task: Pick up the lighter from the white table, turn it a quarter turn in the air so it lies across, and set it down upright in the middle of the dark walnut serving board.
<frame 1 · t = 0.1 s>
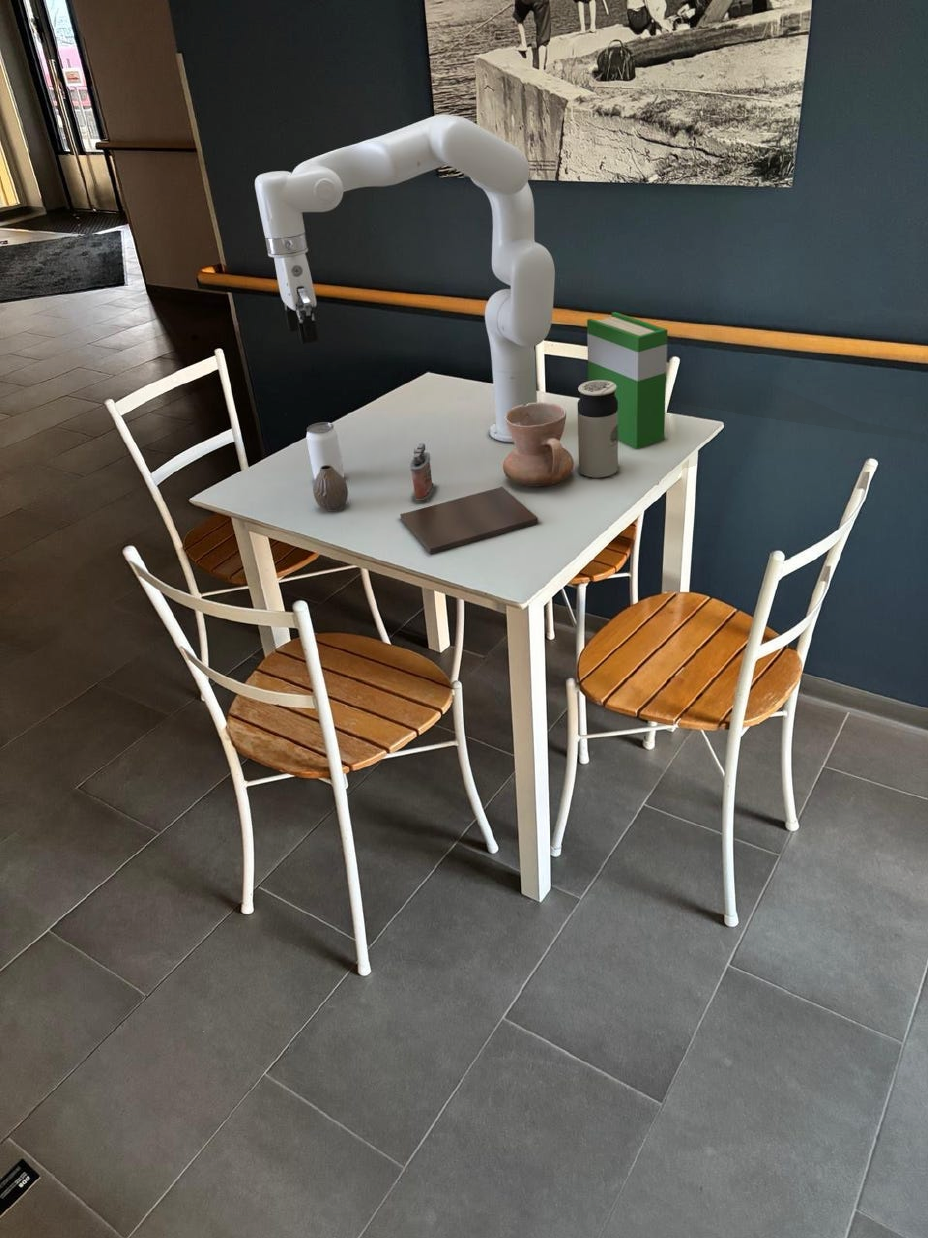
hand: (303, 335, 186), 31 cm above the table, tool pointing down, fingers open, 9 cm apart
walnut board: (468, 521, 181), on the table
ceramic jug: (539, 480, 194), on the table
hardback book: (625, 432, 210), on the table
vase: (333, 507, 192), on the table
travel mug: (598, 471, 195), on the table
can: (329, 480, 203), on the table
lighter: (424, 494, 193), on the table
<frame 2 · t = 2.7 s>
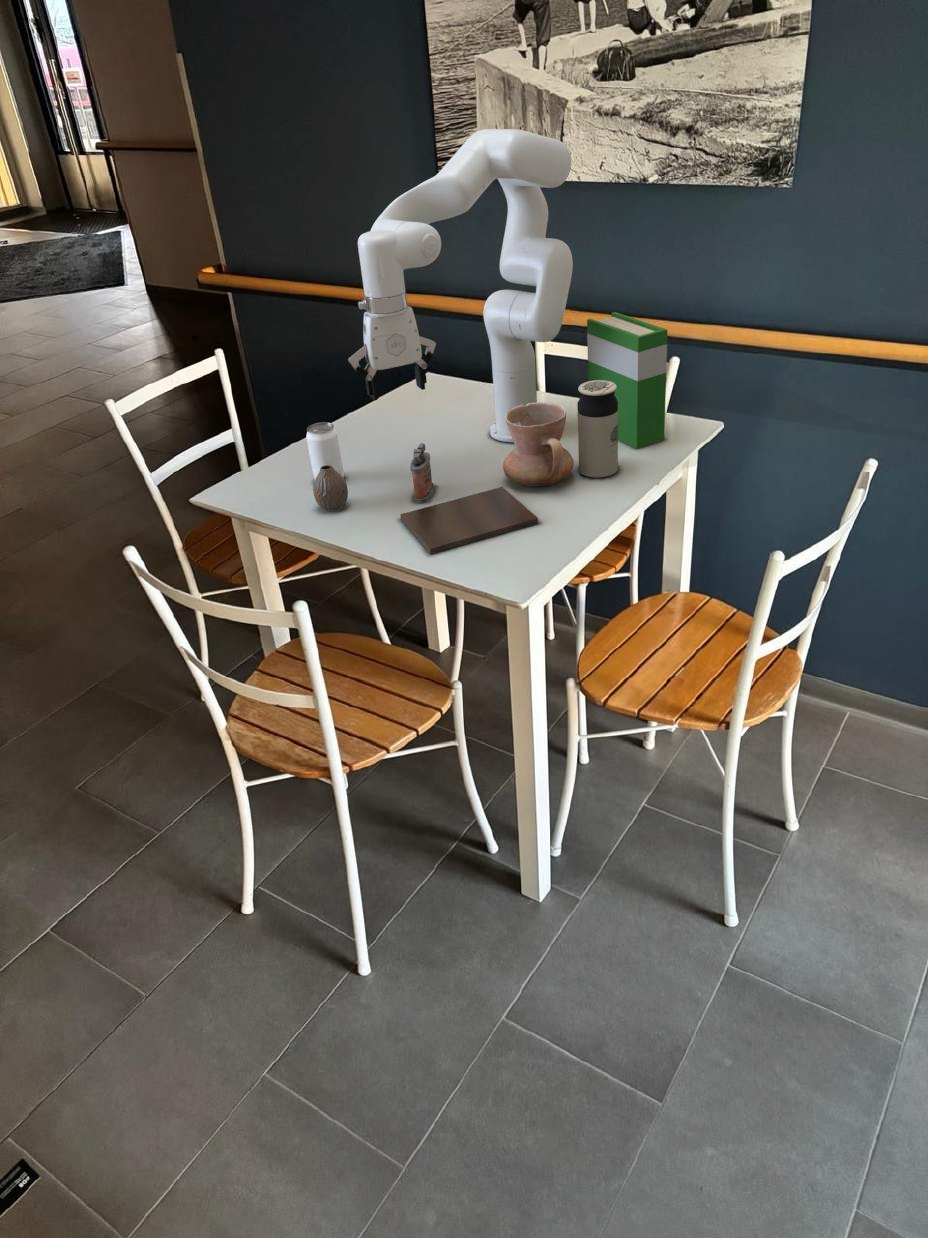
hand: (397, 392, 182), 21 cm above the table, tool pointing down, fingers open, 9 cm apart
nothing on the table moved.
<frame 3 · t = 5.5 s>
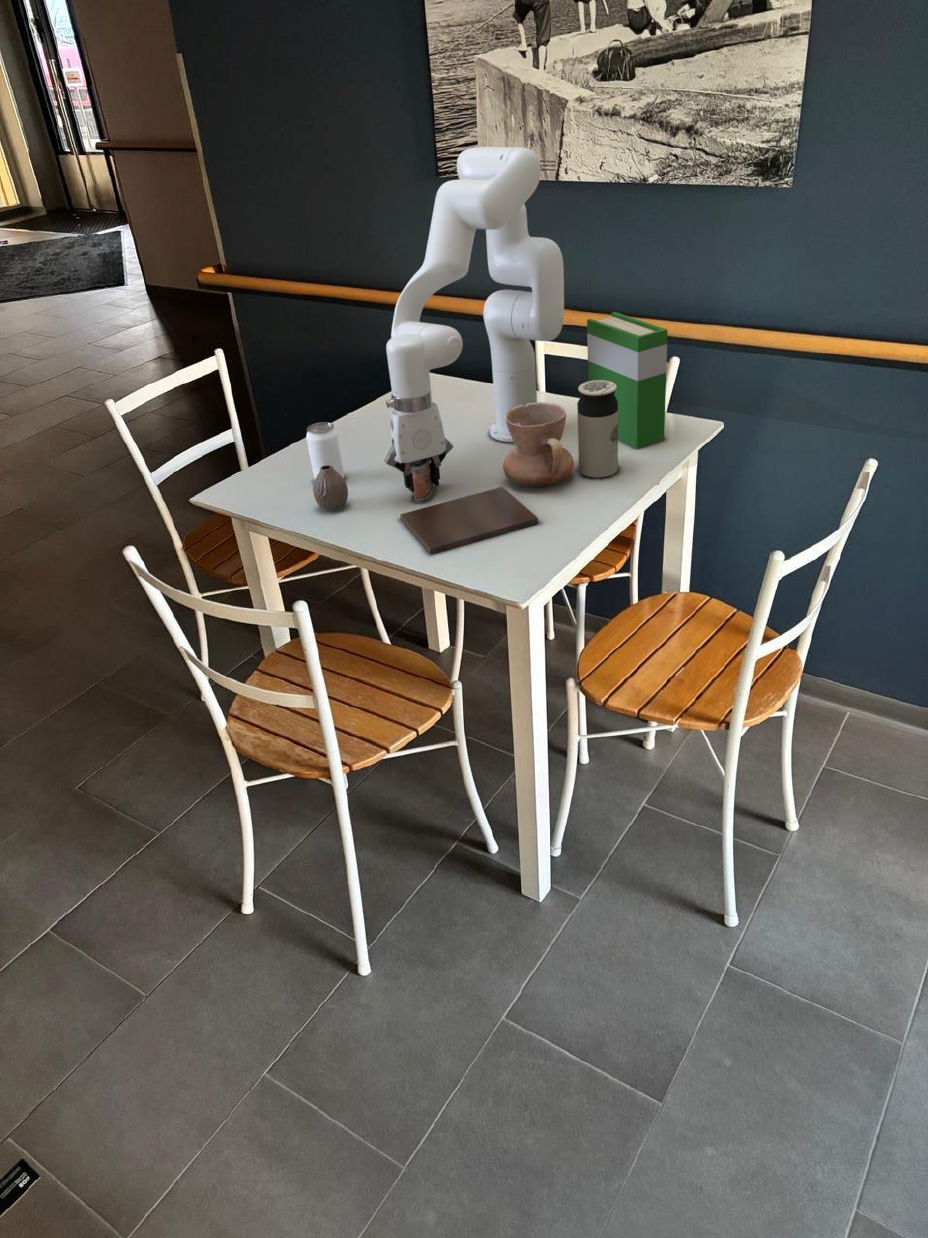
hand: (423, 485, 192), 2 cm above the table, tool pointing down, fingers closed on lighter, 4 cm apart
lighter: (424, 494, 193), on the table, touching gripper
everything else where it was.
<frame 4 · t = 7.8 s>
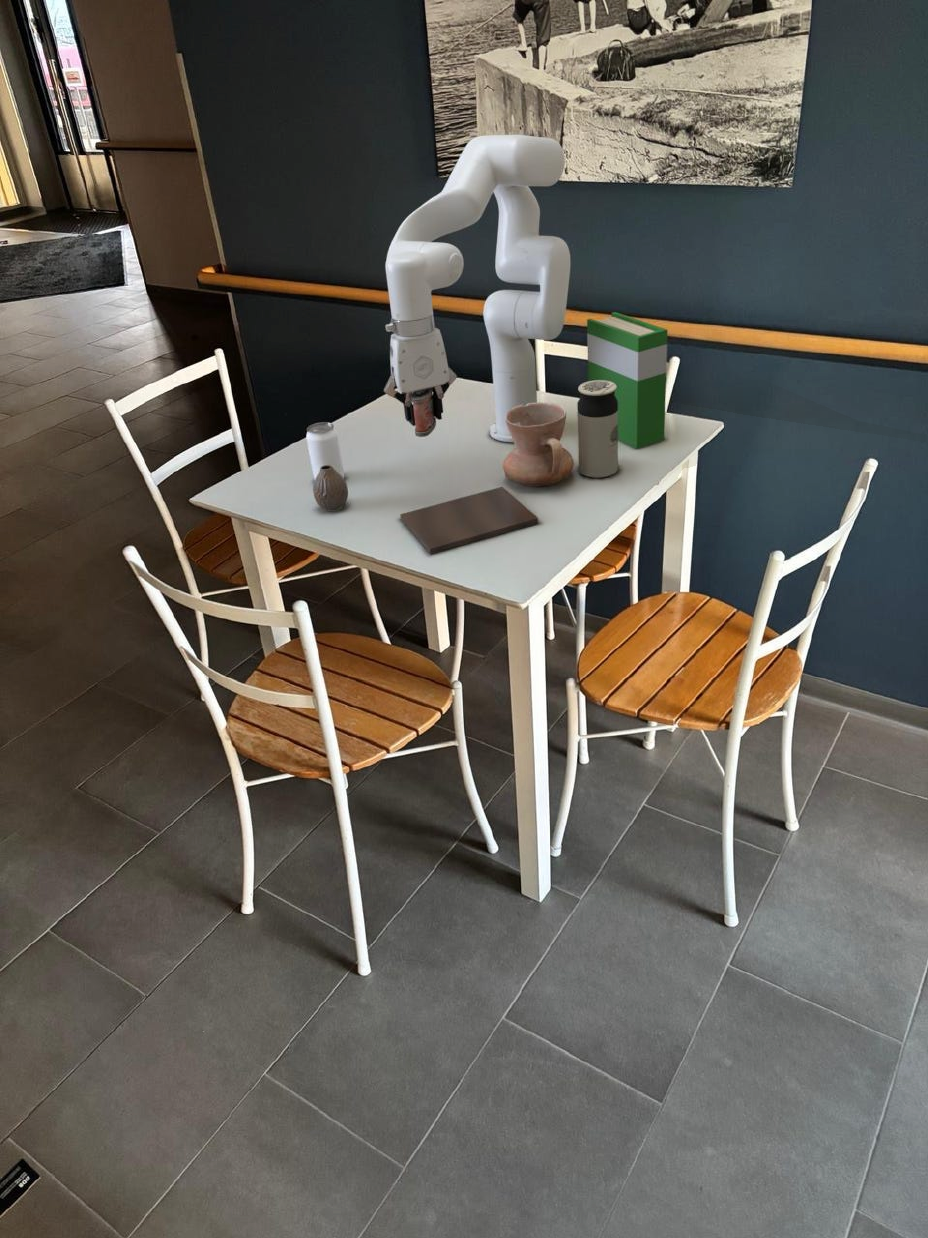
hand: (424, 419, 181), 17 cm above the table, tool pointing down, fingers closed on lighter, 4 cm apart
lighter: (426, 429, 182), point 15 cm above the table, touching gripper
everything else where it was.
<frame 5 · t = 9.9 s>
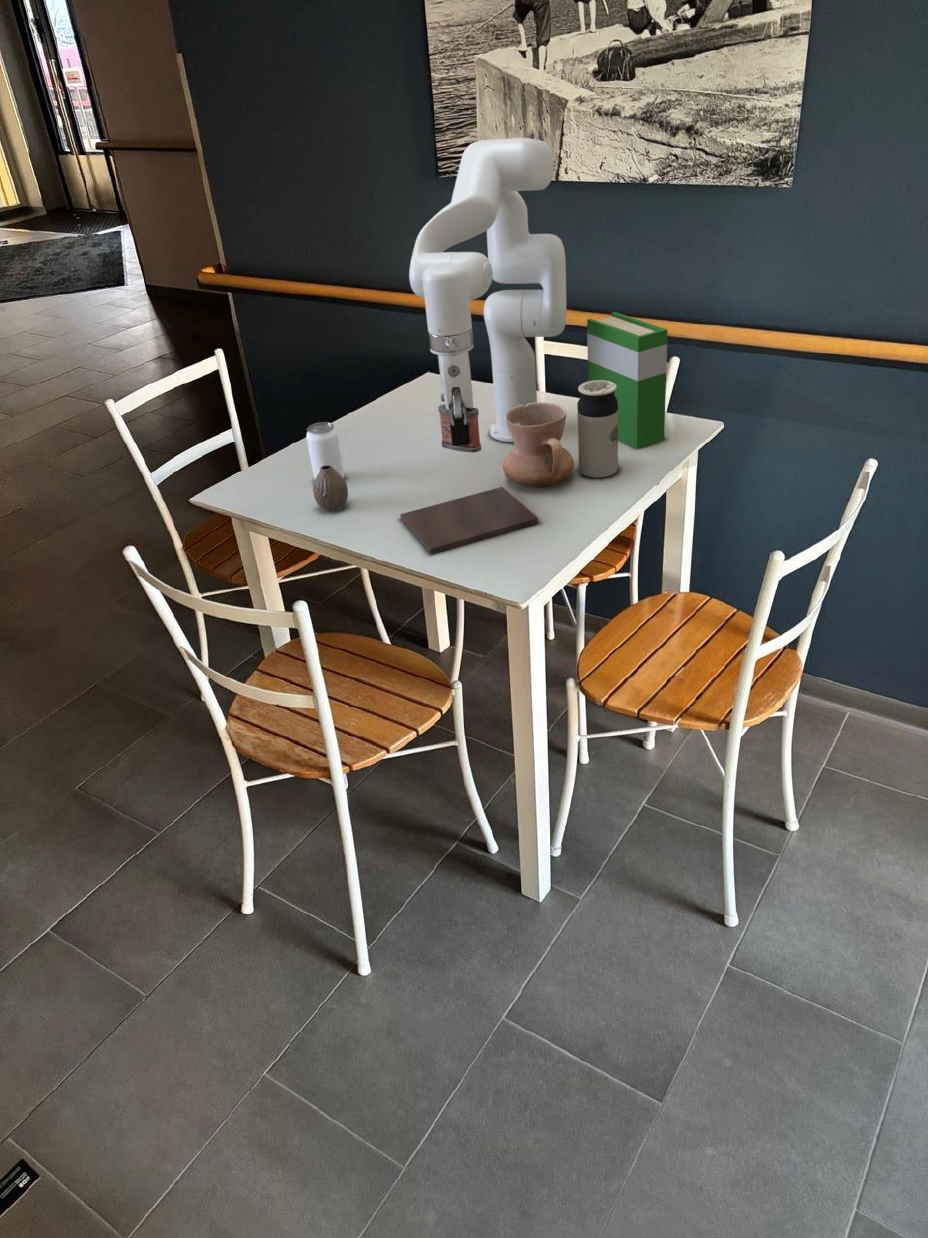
hand: (460, 437, 172), 17 cm above the table, tool pointing down, fingers closed on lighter, 4 cm apart
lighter: (461, 448, 173), point 15 cm above the table, touching gripper
everything else where it was.
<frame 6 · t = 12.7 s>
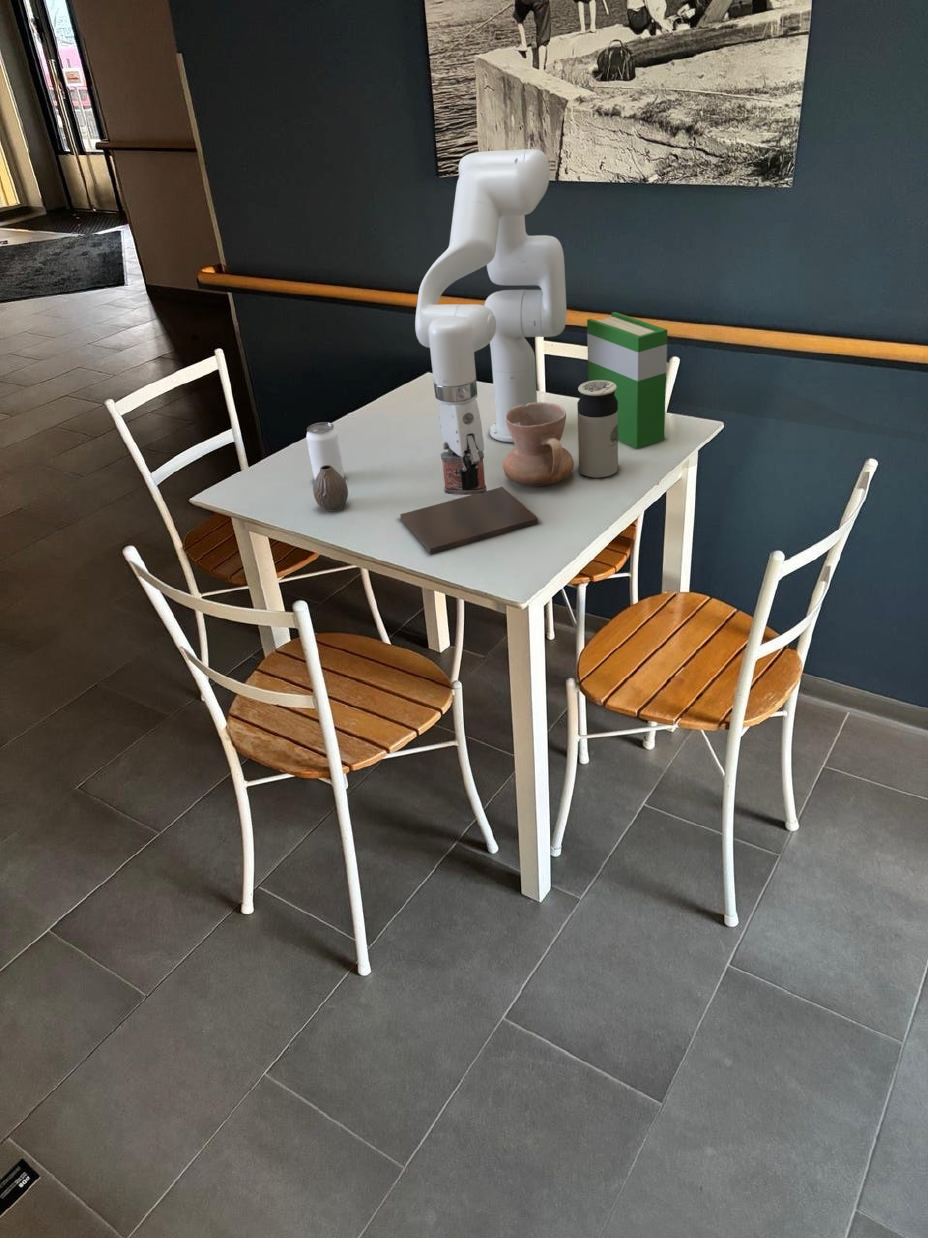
hand: (464, 482, 177), 8 cm above the table, tool pointing down, fingers closed on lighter, 4 cm apart
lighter: (465, 492, 178), point 6 cm above the table, touching gripper
everything else where it was.
when the fingers open (3 cm above the table, at t = 14.6 s): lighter stays where it is, resting on walnut board.
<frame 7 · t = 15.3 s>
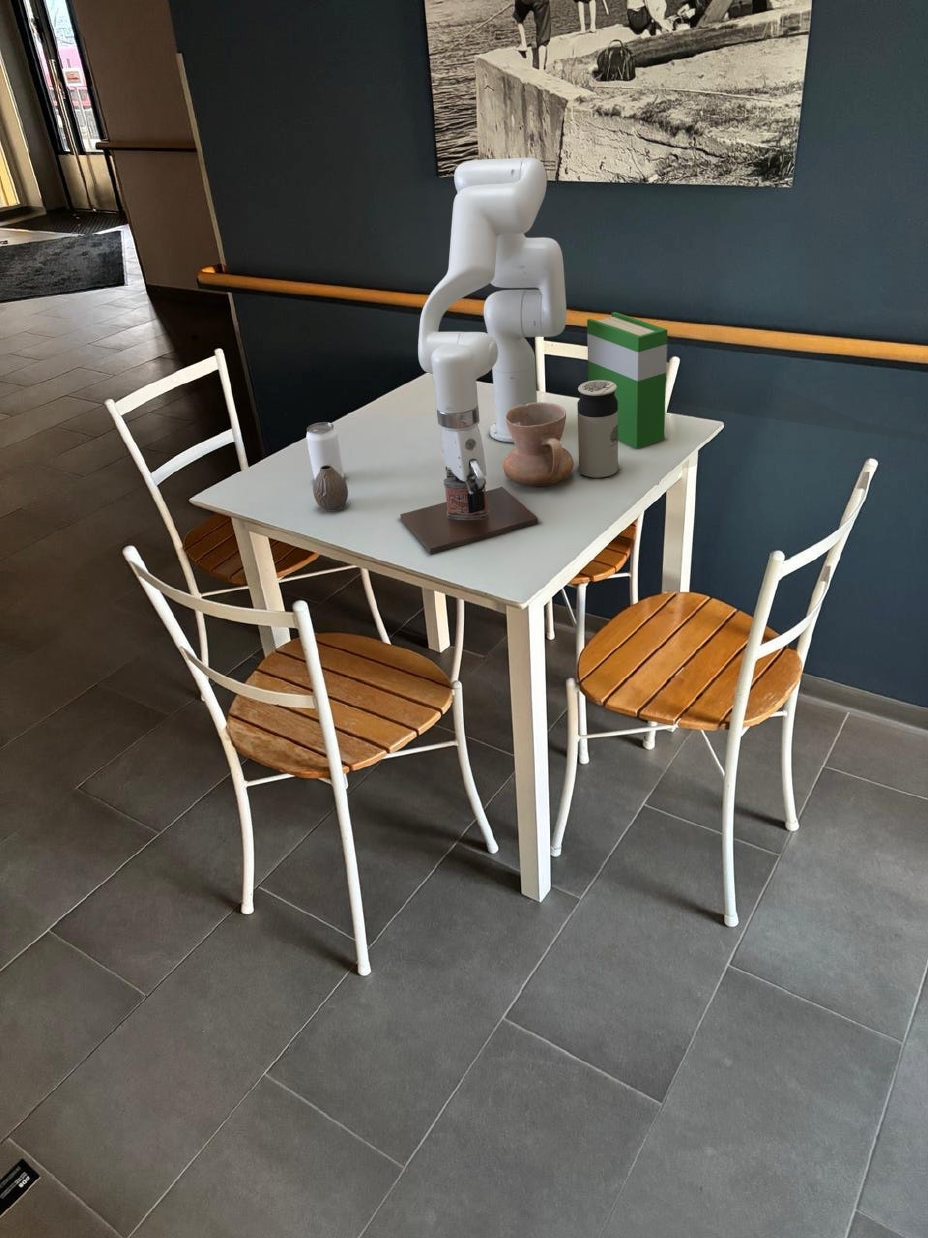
hand: (466, 500, 179), 4 cm above the table, tool pointing down, fingers open, 9 cm apart
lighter: (468, 516, 181), point 1 cm above the table, touching walnut board
everything else where it was.
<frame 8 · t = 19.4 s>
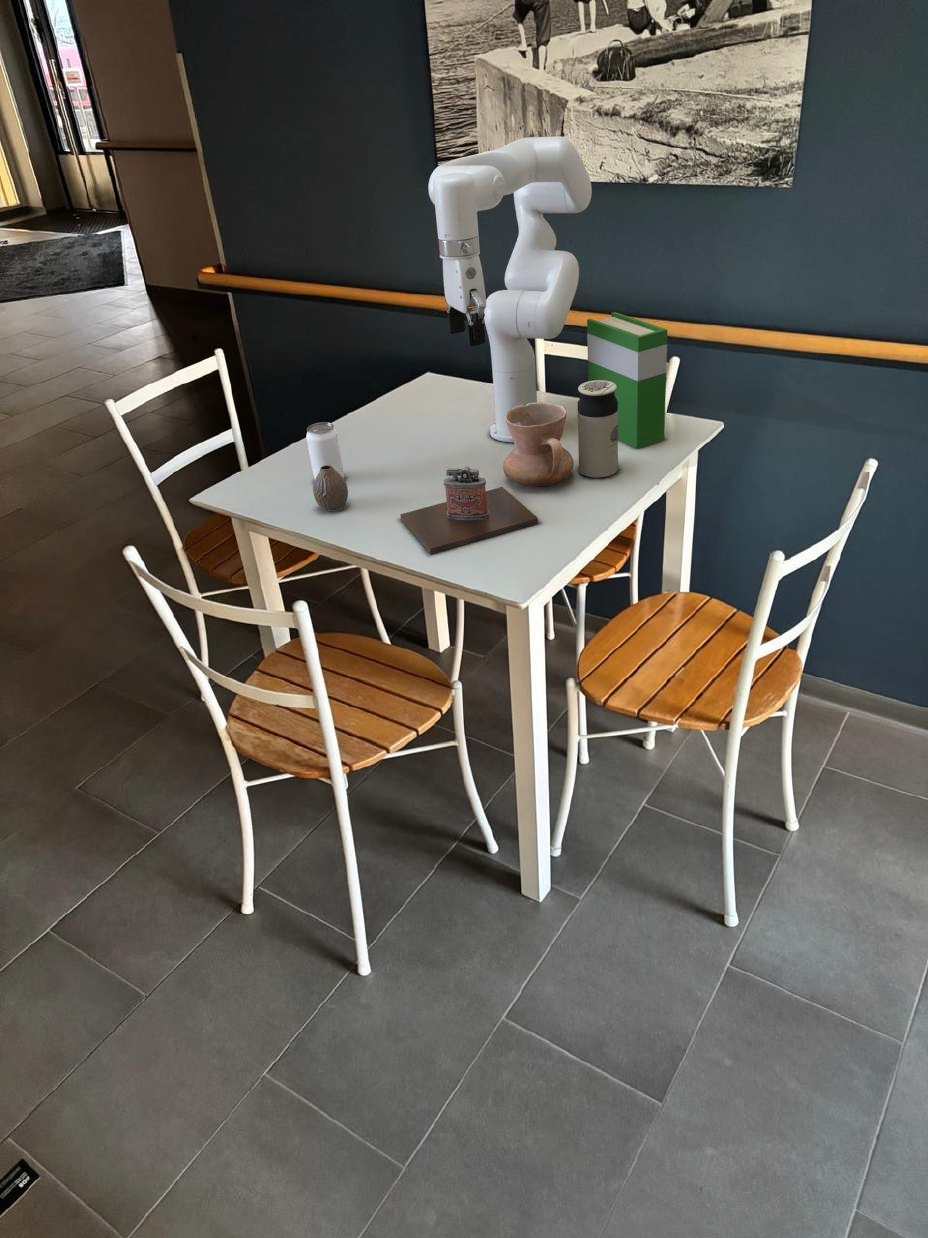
hand: (467, 338, 184), 28 cm above the table, tool pointing down, fingers open, 9 cm apart
nothing on the table moved.
at the end: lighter inside the target area on the walnut board (0.0 cm from its centre), point 1.0 cm above the walnut board's base; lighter tilted 0°; the gripper is holding nothing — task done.
